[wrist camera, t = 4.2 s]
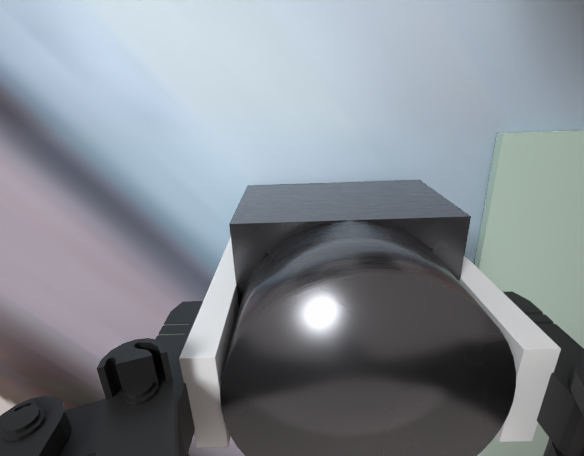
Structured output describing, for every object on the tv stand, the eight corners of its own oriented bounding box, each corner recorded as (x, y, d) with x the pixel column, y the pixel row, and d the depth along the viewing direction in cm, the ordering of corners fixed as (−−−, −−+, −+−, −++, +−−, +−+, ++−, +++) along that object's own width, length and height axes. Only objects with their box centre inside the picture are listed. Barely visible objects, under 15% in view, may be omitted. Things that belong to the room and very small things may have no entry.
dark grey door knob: (247, 185, 13) (202, 281, 6) (419, 179, 13) (548, 271, 6) (259, 326, 15) (234, 499, 9) (404, 322, 15) (487, 495, 9)
